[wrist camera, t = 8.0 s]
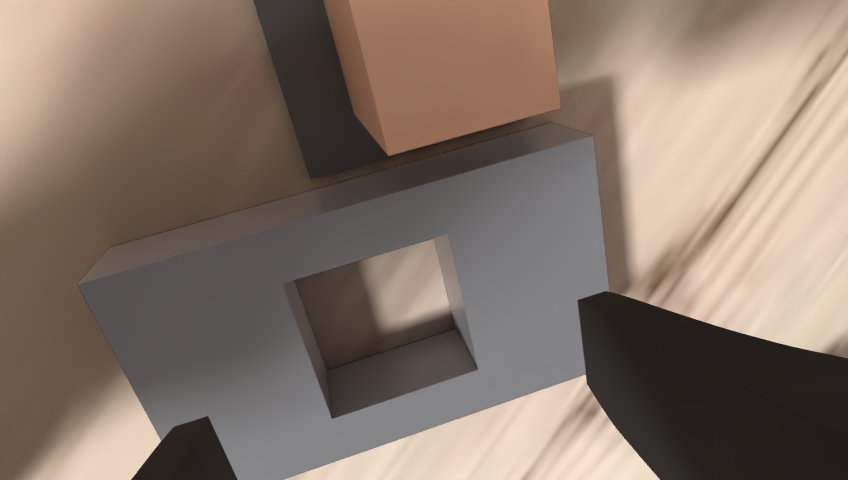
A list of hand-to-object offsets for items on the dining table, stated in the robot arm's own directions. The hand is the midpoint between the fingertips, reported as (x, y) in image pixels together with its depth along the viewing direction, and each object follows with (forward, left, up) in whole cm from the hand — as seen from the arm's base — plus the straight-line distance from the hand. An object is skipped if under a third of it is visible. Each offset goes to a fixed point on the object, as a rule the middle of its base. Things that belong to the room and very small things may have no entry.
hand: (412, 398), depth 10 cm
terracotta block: (-3, -6, -10) cm, 12 cm away
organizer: (0, +3, -10) cm, 11 cm away
